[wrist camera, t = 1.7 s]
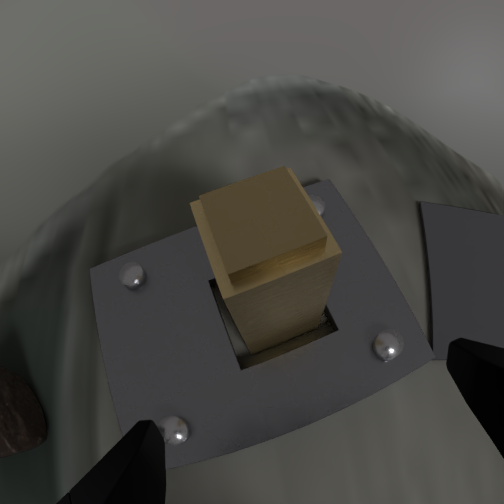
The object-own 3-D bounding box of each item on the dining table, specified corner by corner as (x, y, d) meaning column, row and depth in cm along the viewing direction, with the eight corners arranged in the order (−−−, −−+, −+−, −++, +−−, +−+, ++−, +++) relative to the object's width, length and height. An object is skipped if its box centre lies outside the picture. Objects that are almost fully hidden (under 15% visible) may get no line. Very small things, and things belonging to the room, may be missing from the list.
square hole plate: (428, 360, 20) (440, 354, 18) (143, 472, 18) (131, 476, 16) (328, 187, 28) (330, 172, 26) (96, 274, 26) (84, 264, 24)
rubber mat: (524, 356, 18) (527, 355, 18) (430, 360, 20) (433, 358, 19) (501, 218, 25) (503, 215, 24) (419, 204, 26) (420, 201, 26)
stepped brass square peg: (317, 327, 22) (345, 241, 12) (251, 355, 22) (219, 291, 11) (289, 269, 24) (289, 155, 14) (228, 293, 24) (185, 192, 14)
